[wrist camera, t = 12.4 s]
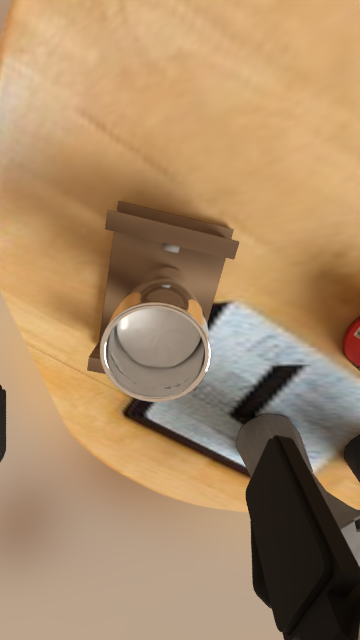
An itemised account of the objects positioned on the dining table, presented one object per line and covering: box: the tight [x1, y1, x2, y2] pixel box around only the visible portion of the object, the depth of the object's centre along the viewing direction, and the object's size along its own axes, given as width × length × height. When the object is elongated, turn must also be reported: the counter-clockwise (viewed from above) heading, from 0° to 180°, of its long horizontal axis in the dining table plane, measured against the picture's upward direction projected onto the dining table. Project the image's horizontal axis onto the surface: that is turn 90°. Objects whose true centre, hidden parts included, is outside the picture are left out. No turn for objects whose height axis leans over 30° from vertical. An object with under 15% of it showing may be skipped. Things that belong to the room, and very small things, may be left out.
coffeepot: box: [236, 414, 360, 609], centre depth 30 cm, size 15×9×18 cm, turn 148°
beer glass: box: [100, 266, 211, 402], centre depth 23 cm, size 7×7×15 cm
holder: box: [87, 201, 239, 391], centre depth 28 cm, size 17×12×7 cm
